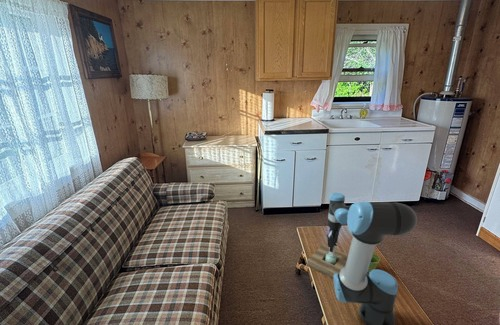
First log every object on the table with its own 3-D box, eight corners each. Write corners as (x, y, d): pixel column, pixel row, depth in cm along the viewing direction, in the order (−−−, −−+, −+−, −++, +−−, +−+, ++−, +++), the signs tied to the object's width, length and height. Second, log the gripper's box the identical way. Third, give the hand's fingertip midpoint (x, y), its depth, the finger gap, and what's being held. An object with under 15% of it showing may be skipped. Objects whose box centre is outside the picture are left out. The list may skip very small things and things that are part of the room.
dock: (339, 282, 144) (340, 276, 143) (306, 265, 157) (307, 260, 155) (353, 262, 159) (354, 257, 157) (322, 249, 171) (322, 244, 170)
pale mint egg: (333, 268, 153) (333, 261, 152) (323, 263, 157) (324, 256, 156) (337, 263, 158) (338, 256, 156) (327, 258, 161) (328, 251, 160)
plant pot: (379, 276, 148) (382, 263, 145) (361, 274, 150) (363, 261, 147) (375, 265, 156) (377, 253, 154) (358, 263, 158) (360, 251, 155)
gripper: (336, 226, 141) (332, 263, 148) (346, 217, 150) (342, 252, 157) (323, 222, 145) (320, 258, 153) (333, 213, 155) (330, 247, 162)
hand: (331, 255), depth 155 cm, fingers closed
